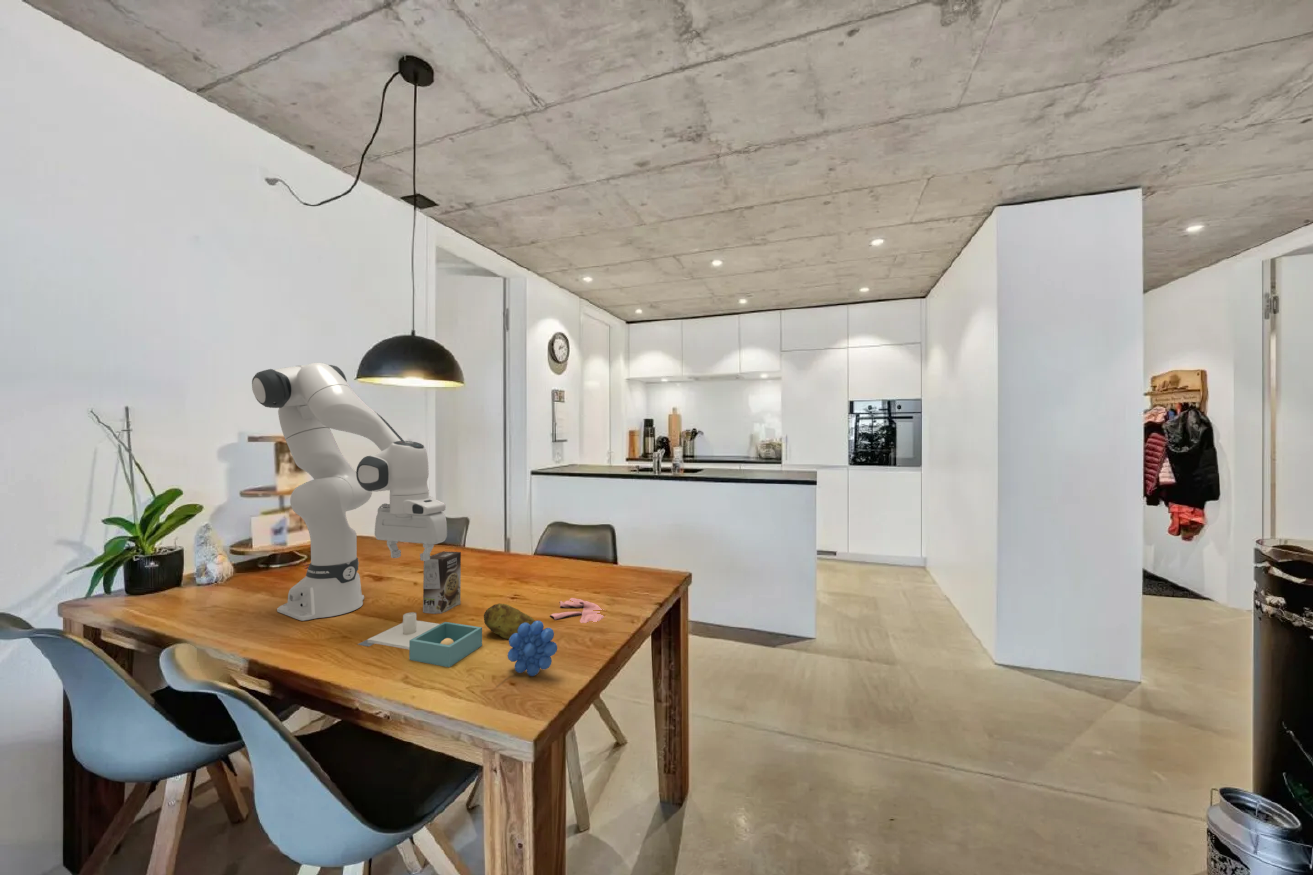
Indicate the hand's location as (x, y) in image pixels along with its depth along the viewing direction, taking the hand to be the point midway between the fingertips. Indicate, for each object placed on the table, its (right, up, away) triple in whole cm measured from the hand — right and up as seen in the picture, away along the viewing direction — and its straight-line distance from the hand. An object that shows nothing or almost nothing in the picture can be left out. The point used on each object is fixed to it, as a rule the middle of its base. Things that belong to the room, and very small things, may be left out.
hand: (410, 558), depth 118 cm
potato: (+25, -20, +1) cm, 32 cm away
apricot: (+14, -20, -9) cm, 26 cm away
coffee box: (-1, -20, +19) cm, 28 cm away
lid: (0, -20, 0) cm, 20 cm away
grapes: (+36, -21, -17) cm, 45 cm away
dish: (+14, -20, -9) cm, 26 cm away
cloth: (+38, -21, +19) cm, 47 cm away
